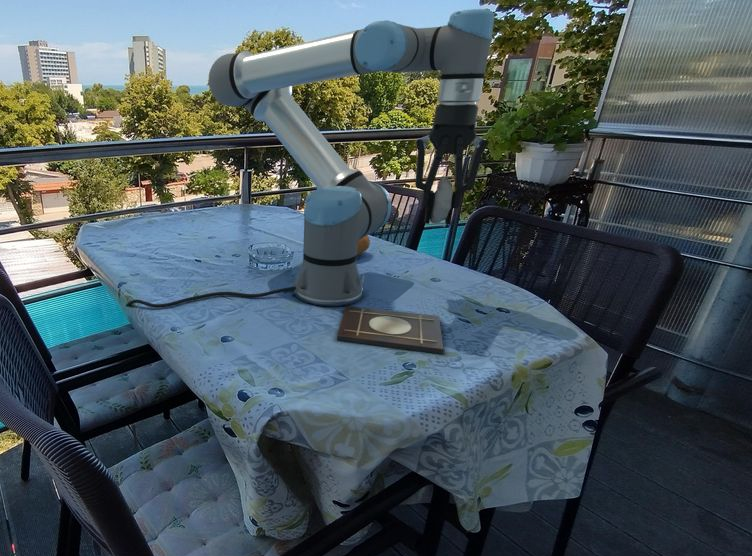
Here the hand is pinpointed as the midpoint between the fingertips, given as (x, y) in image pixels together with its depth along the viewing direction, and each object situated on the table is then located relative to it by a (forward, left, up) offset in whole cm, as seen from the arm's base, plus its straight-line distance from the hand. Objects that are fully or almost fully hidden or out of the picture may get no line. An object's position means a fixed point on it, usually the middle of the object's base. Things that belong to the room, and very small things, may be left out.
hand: (437, 222), depth 99 cm
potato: (-19, +24, -16) cm, 35 cm away
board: (-7, -21, -16) cm, 28 cm away
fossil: (0, 0, 0) cm, 0 cm away
